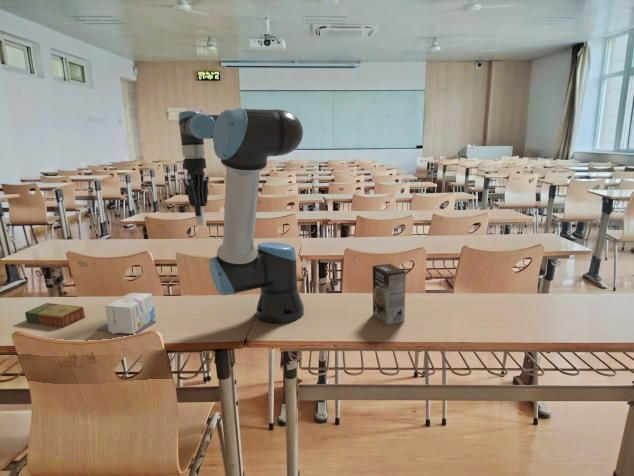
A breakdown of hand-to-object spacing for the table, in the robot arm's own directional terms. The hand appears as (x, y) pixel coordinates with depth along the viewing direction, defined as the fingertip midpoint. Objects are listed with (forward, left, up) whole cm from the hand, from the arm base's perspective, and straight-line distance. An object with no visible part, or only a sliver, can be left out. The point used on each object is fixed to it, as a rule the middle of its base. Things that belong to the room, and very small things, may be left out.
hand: (201, 224), depth 152 cm
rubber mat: (+9, +32, -26) cm, 42 cm away
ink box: (+7, +26, -21) cm, 34 cm away
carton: (+36, +33, -27) cm, 56 cm away
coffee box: (-68, +7, -26) cm, 73 cm away
